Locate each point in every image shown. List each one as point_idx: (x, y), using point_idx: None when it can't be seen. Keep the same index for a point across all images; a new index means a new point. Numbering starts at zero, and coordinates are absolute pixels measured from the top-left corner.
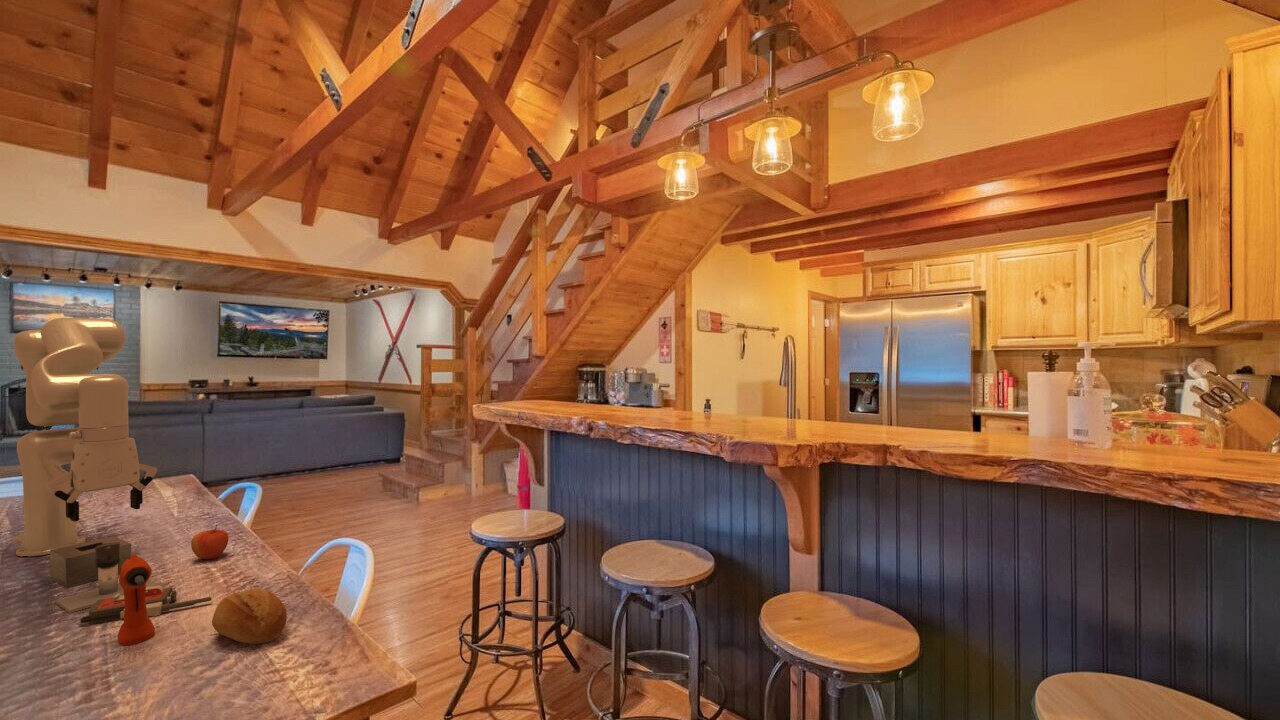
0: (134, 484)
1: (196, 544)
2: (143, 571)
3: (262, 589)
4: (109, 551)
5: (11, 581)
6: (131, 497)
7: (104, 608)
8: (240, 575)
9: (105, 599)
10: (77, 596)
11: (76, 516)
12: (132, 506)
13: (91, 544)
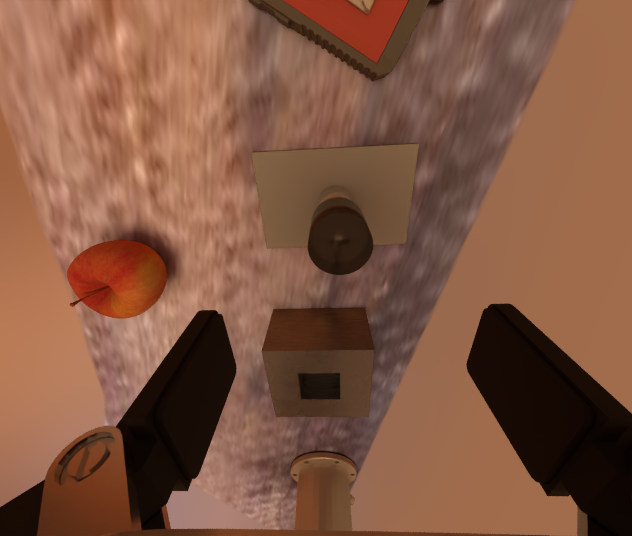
0: (103, 528)
1: (145, 268)
2: None
3: None
4: (343, 209)
5: (393, 395)
6: (211, 414)
7: None
8: (70, 28)
9: (385, 42)
10: (377, 229)
11: (519, 319)
12: (228, 354)
13: (315, 399)
